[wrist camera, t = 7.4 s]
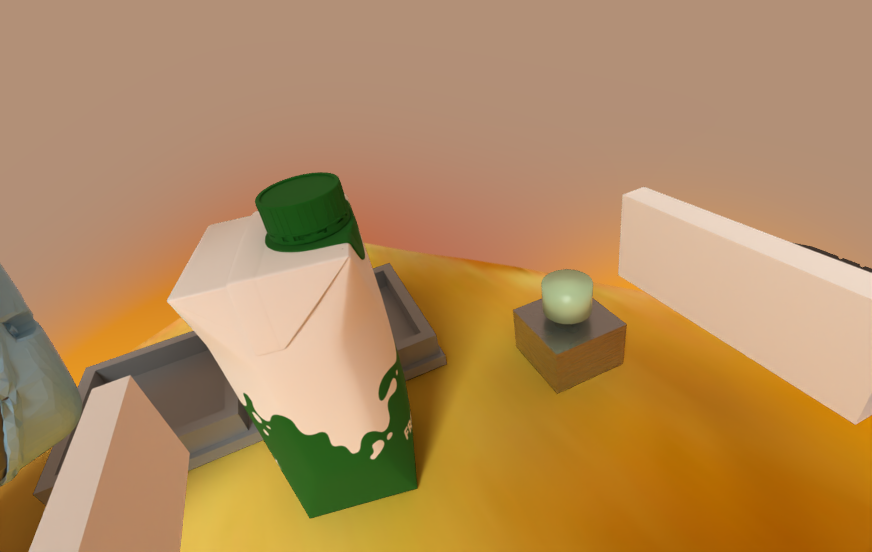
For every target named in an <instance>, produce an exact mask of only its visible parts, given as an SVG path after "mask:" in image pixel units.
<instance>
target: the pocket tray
mask: <svg viewBox="0 0 872 552" xmlns="http://www.w3.org/2000/svg"><path fill="white" fill-rule="evenodd" d="M373 271H374V274H375V278H376V281H377V284H378V287H379V290H380V293H381V296H382V299H383V302H384V306H385V309H386V313H387V316H388V320H389V323H390V327H391V330H392V334H393V337H394V341H395V344H396V348H397V352H398V355H399V359H400V362H401V366H402V369H403V373H404V377H405V381H407V380H409V379H411V378H414V377H416V376H419V375H421V374H424V373H426V372H428V371H431V370H433V369H436V368H438V367H440V366H443V365H445V364H447V362H446V357H445V354H444V353H443V351H442V350H441V348H440V346H439V345H438V341H437V336H436V334H435V332H434V331H433V329H432V328H431V326H430V325H429V323H428V321H427V320H426V318H425V317H424V315H423V314H422V312H421V311H420V309H419V308H418V306H417V305H416V303H415V301H414V300H413V298H412V297H411V295H410V294H409V292H408V291H407V289H406V288H405V286H404V285H403V283H402V282H401V280H400V278H399V277H398V275H397V274H396V272H395V271H394V269H393V268H392V266H391V265H390V263H388V264H385V265H382V266H379V267H376V268H374V269H373ZM129 375H131V377H132V378H133V379H134V381H135V382H136V383H137V385H138V386H139V387H140V388H141V390H142V391H143V392H144V394H145V395H146V396H147V398H148V399H149V400H150V402H151V403H152V404H153V406H154V407H155V408H156V409H157V411H158V412H159V413H160V415H161V416H162V417H163V419H164V420H165V421H166V423H167V424H168V425H169V427H170V428H171V429H172V430H173V432H174V433H175V434H176V436H177V437H178V438H179V440H180V441H181V442H182V444H183V445H184V446H185V447H186V449H187V450H188V451H189V453H190V455H189V465H188V471H189V470H192V469H194V468H196V467H199V466H201V465H204V464H206V463H209V462H211V461H213V460H216V459H218V458H221V457H223V456H225V455H228V454H230V453H233V452H235V451H238V450H240V449H242V448H245V447H247V446H250V445H252V444H254V443H257V442H259V441H262V440H263V438H262V436H261V435H260V433H259V431H258V430H257V428H256V426H255V425H254V423H253V421H252V420H251V418H250V416H249V415H248V413H247V411H246V410H245V408H244V406H243V405H242V403H241V401H240V400H239V398H238V396H237V395H236V393H235V391H234V390H233V388H232V386H231V385H230V383H229V381H228V380H227V378H226V376H225V375H224V373H223V371H222V370H221V368H220V366H219V365H218V363H217V361H216V360H215V358H214V356H213V355H212V353H211V352H210V350H209V349H208V347H207V346H206V344H205V343H204V342H203V341H202V340H201V338H200V337H199V336H198V335H197V334H196V333H195V332H194V331H191V332H188V333H186V334H183V335H180V336H177V337H174V338H171V339H168V340H165V341H162V342H160V343H157V344H154V345H151V346H148V347H145V348H142V349H139V350H136V351H134V352H131V353H128V354H125V355H122V356H119V357H116V358H113V359H110V360H108V361H105V362H102V363H99V364H96V365H93V366H90V367H87V368H86V369H85V372H84V374H83V376H82V379H81V381H80V384H79V386H78V388H77V389H78V391H79V393H80V396H81V400H82V412H81V416H82V413H83V411H84V408H85V405H86V403H87V400H88V398H89V395H90V393H91V390H92V389H94V388H96V387H99V386H102V385H104V384H107V383H110V382H113V381H115V380H118V379H121V378H124V377H126V376H129ZM81 416H80V418H81ZM79 421H80V419H79ZM79 421H78V423H79ZM78 423H77V425H76V426H75V428H74V429H73V430H72V431H71V433H70V434H69V435H67V436H66V437H65V438H64V439H63V440H61V441H60V442H58V443H57V444H56V445H54V446H53V448H52V450H51V453H50V455H49V457H48V460H47V462H46V464H45V467H44V469H43V472H42V474H41V476H40V479H39V481H38V483H37V486H36V488H35V491H34V493H33V495H34V496H35V497H36V498H37V499H39V500H40V501H41V502H42V503H43V504H45V505H47V503H48V500H49V498H50V495H51V493H52V490H53V488H54V485H55V482H56V480H57V477H58V475H59V472H60V470H61V467H62V464H63V462H64V459H65V457H66V454H67V452H68V449H69V446H70V444H71V441H72V439H73V436H74V434H75V431H76V429H77V426H78Z"/></svg>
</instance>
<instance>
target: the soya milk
mask: <svg viewBox="0 0 872 552" xmlns="http://www.w3.org/2000/svg"><path fill="white" fill-rule="evenodd" d="M255 203H256V206H257V209H258V211H256V212H254V213H253V215H252V216H248V217H244V218H239V219H235V220H230V221H226V222H222V223H218V224H213V225H209V226H208V228H207V229H206V231H205V233H204V235H203V237H202V239H201V240H200V242H199V244H198V246H197V247H196V249H195V251H194V253H193V254H192V256H191V258H190V260H189V262H188V264H187V265H186V267H185V269H184V271H183V273H182V274H181V276H180V278H179V280H178V281H177V283H176V285H175V287H174V288H173V290H172V292H171V294H170V296H169V297H168V299H167V302H168V303H169V304H170V305H171V306H172V307H173V308H174V309H175V311H176V312H177V313H178V314H179V315H180V316H181V317H182V318H183V319H184V321H185V322H186V323H187V324H188V325H189V326H190V327H191V328H192V329H193V330H194V332H195V333H196V334H197V335H198V336H199V337H200V338H201V340H202V341H203V342H204V343H205V344H206V346H207V347H208V349H209V350H210V352H211V353H212V355H213V356H214V358H215V360H216V361H217V363H218V365H219V366H220V368H221V370H222V371H223V373H224V375H225V376H226V378H227V380H228V381H229V383H230V385H231V386H232V388H233V390H234V391H235V393H236V395H237V396H238V398H239V400H240V401H241V403H242V405H243V406H244V408H245V410H246V411H247V413H248V415H249V416H250V418H251V420H252V421H253V423H254V425H255V426H256V428H257V430H258V431H259V433H260V435H261V436H262V438H263V440H264V441H265V443H266V445H267V447H268V448H269V450H270V452H271V453H272V455H273V457H274V458H275V460H276V462H277V464H278V465H279V467H280V469H281V470H282V472H283V474H284V475H285V477H286V479H287V480H288V482H289V484H290V486H291V487H292V489H293V491H294V492H295V494H296V496H297V497H298V499H299V501H300V502H301V504H302V506H303V508H304V509H305V511H306V513H307V514H308V516H309V518H314V517H317V516H321V515H324V514H328V513H332V512H335V511H339V510H342V509H346V508H349V507H353V506H356V505H360V504H364V503H367V502H371V501H374V500H378V499H381V498H385V497H389V496H392V495H396V494H399V493H403V492H406V491H410V490H413V489H417V477H416V466H415V454H414V442H413V430H412V420H411V411H410V405H409V399H408V394H407V388H406V382H405V377H404V373H403V369H402V366H401V362H400V359H399V355H398V352H397V348H396V344H395V341H394V337H393V334H392V330H391V327H390V323H389V320H388V316H387V313H386V309H385V306H384V302H383V299H382V296H381V293H380V290H379V287H378V284H377V281H376V278H375V274H374V271H373V268H372V265H371V263H370V260H369V257H368V254H367V251H366V248H365V245H364V243H363V240H362V237H361V234H360V231H359V228H358V225H357V222H356V219H355V216H354V214H353V211H352V208H351V205H350V202H349V199H348V196H347V195H346V194H344V192H343V189H342V186H341V182H340V180H339V178H338V177H337V176H336V175H334V174H331V173H309V174H303V175H299V176H295V177H291V178H288V179H285V180H282V181H280V182H277V183H275V184H273V185H271V186H269V187H267V188H266V189H264V190H263V191H262V192H261V193H259V194H258V196H257V197H256V200H255Z"/></svg>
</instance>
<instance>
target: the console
mask: <svg viewBox="0 0 872 552" xmlns="http://www.w3.org/2000/svg"><path fill="white" fill-rule="evenodd" d="M513 315H514V327H515V339H516V347H517V348H518V349H519V350H520V351H521V353H522V354H523V355H524V356H525V357H526V358H527V359H528V361H529V362H530V363H531V364H532V365H533V366H534V367H535V369H536V370H537V371H538V372H539V373H540V374H541V375H542V377H543V378H544V379H545V380H546V381H547V382H548V384H549V385H550V386H551V387H552V388H553V389H554V390H555V392H556V393H557V394H558V393H560V392H562V391H564V390H566V389H569V388H571V387H573V386H575V385H577V384H579V383H582V382H584V381H586V380H588V379H590V378H593V377H595V376H597V375H599V374H601V373H603V372H606V371H608V370H610V369H612V368H614V367H616V366H619V365H621V364H623V358H624V347H625V336H626V326H627V324H626V323H624V322H623V321H622V320H620V319H619V318H618V317H616V316H615V315H614V314H613V313H611V312H610V311H609V310H607V309H606V308H605V307H603V306H602V305H601V304H600V303H598V302H597V301H596V300H594V299H593V298H592V313H591V315H590V316H589V317H588V318H587V319H586V320H584V321H582V322H580V323H576V324H560V323H556V322H554V321H551V320H550V319H548V318H547V317H546V316H545V315H544V313H543V306H542V299H540V300H537V301H535V302H532V303H529V304H527V305H524V306H522V307H519V308H517V309H514V310H513Z"/></svg>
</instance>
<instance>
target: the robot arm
mask: <svg viewBox="0 0 872 552" xmlns="http://www.w3.org/2000/svg"><path fill="white" fill-rule="evenodd" d="M618 275H619V276H621V277H622V278H624V279H626V280H627V281H629V282H630V283H632V284H634V285H635V286H637V287H639V288H640V289H641V290H643V291H645V292H646V293H648V294H649V295H651V296H652V297H654V298H656V299H657V300H659V301H660V302H662V303H664V304H665V305H667V306H668V307H670V308H671V309H673V310H675V311H676V312H678V313H679V314H681V315H683V316H684V317H686V318H687V319H689V320H690V321H692V322H694V323H695V324H697V325H698V326H700V327H702V328H703V329H705V330H706V331H708V332H709V333H711V334H713V335H714V336H716V337H717V338H719V339H721V340H722V341H724V342H725V343H727V344H728V345H730V346H732V347H733V348H735V349H736V350H738V351H739V352H741V353H743V354H744V355H746V356H747V357H749V358H751V359H752V360H754V361H755V362H757V363H758V364H760V365H762V366H763V367H765V368H766V369H768V370H770V371H771V372H773V373H774V374H776V375H777V376H779V377H781V378H782V379H784V380H785V381H787V382H789V383H790V384H792V385H793V386H795V387H796V388H798V389H800V390H801V391H803V392H804V393H806V394H808V395H809V396H811V397H812V398H814V399H815V400H817V401H819V402H820V403H822V404H823V405H825V406H827V407H828V408H830V409H831V410H833V411H834V412H836V413H838V414H839V415H841V416H842V417H844V418H845V419H847V420H849V421H850V422H852V423H853V424H855V425H856V424H858V423H859V422H861V421H863V420H864V419H866V418H868V417H869V416H871V415H872V269H871V268H868V267H863V268H862V267H860V264H857V263H855V262H852V261H849V260H847V259H844V258H843V259H839V258H838V256H836V255H833V254H830V253H828V252H825V251H822V250H820V249H817V248H814V247H811V246H806V245H801V244H796V243H791V242H788V241H786V240H783V239H780V238H778V237H775V236H772V235H770V234H767V233H765V232H762V231H759V230H757V229H754V228H751V227H748V226H746V225H744V224H741V223H738V222H736V221H732V220H730V219H728V218H725V217H722V216H720V215H717V214H714V213H712V212H709V211H707V210H704V209H701V208H699V207H696V206H693V205H690V204H688V203H685V202H683V201H680V200H678V199H675V198H672V197H669V196H667V195H664V194H662V193H659V192H656V191H654V190H651V189H649V188H646V187H643V188H640V189H637V190H635V191H632V192H629V193H626V194H623V198H622V216H621V233H620V252H619V271H618ZM81 412H82V400H81V396H80V393H79V391H78V389H77V387H76V384H75V383H74V381H73V379H72V377H71V375H70V373H69V371H68V370H67V367H66V366H65V364H64V362H63V361H62V359H61V357H60V355H59V354H58V352H57V350H56V349H55V347H54V345H53V344H52V342H51V341H50V339H49V338H48V336H47V335H46V333H45V332H44V330H43V329H42V327H41V326H40V325H39V323H38V322H36V321H35V320H34V319H33V314H32V312H31V310H30V309H29V307H28V306H27V305H26V303H25V302H24V299H23V297H22V295H21V294H20V292H19V290H18V289H17V287H16V286H15V284H14V283H13V281H12V280H11V278H10V277H9V275H8V274H7V272H6V271H5V270H4V268H3V267H2V265H1V264H0V487H1V486H3V485H4V484H6V483H8V482H10V481H11V480H12V479H13V478H14V477H15V476H16V475H17V474H18V472H19V470H20V469H21V468H23V467H24V466H25V465H27V464H28V463H30V462H31V461H33V460H34V459H35V458H37V457H38V456H40V455H41V454H43V453H44V452H46V451H47V450H48V449H50V448H51V447H53V446H54V445H56V444H57V443H58V442H60V441H61V440H63V439H64V438H65V437H66V436H67V435H69V434H70V433H71V431H72V430H73V429H74V428H75V426H76V425H77V423H78V421H79V419H80V421H79V423H78V426H77V429H76V431H75V434H74V436H73V439H72V441H71V444H70V446H69V449H68V452H67V454H66V457H65V459H64V462H63V464H62V467H61V470H60V472H59V475H58V477H57V480H56V482H55V485H54V488H53V490H52V493H51V495H50V498H49V500H48V503H47V505H46V508H45V511H44V513H43V516H42V518H41V521H40V523H39V526H38V529H37V531H36V534H35V536H34V539H33V541H32V544H31V546H30V549H29V552H180V546H181V536H182V526H183V516H184V506H185V496H186V485H187V475H188V465H189V455H190V453H189V451H188V450H187V449H186V447H185V446H184V445H183V444H182V442H181V441H180V440H179V438H178V437H177V436H176V434H175V433H174V432H173V430H172V429H171V428H170V427H169V425H168V424H167V423H166V421H165V420H164V419H163V417H162V416H161V415H160V413H159V412H158V411H157V409H156V408H155V407H154V406H153V404H152V403H151V402H150V400H149V399H148V398H147V396H146V395H145V394H144V392H143V391H142V390H141V388H140V387H139V386H138V385H137V383H136V382H135V381H134V379H133V378H132V377H131V375H129V376H126V377H124V378H121V379H118V380H115V381H113V382H110V383H107V384H104V385H102V386H99V387H96V388H94V389H92V390H91V393H90V395H89V398H88V400H87V403H86V405H85V408H84V411H83V413H82V416H81ZM80 416H81V418H80Z"/></svg>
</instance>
